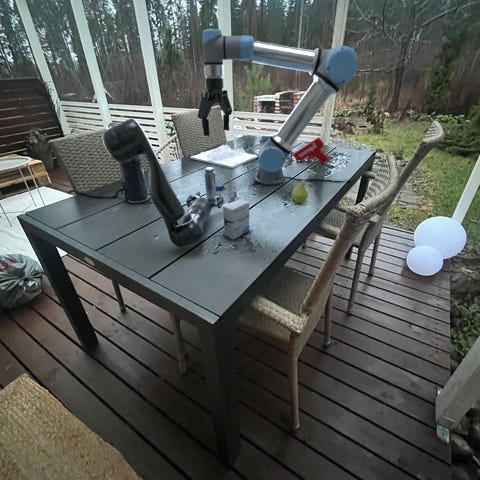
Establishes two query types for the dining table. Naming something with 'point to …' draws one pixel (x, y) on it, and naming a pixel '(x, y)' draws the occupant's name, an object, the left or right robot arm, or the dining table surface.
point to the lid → (219, 186)
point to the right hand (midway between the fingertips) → (216, 132)
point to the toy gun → (311, 151)
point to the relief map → (225, 156)
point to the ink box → (236, 218)
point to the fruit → (300, 192)
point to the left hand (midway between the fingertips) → (209, 194)
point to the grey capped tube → (210, 182)
